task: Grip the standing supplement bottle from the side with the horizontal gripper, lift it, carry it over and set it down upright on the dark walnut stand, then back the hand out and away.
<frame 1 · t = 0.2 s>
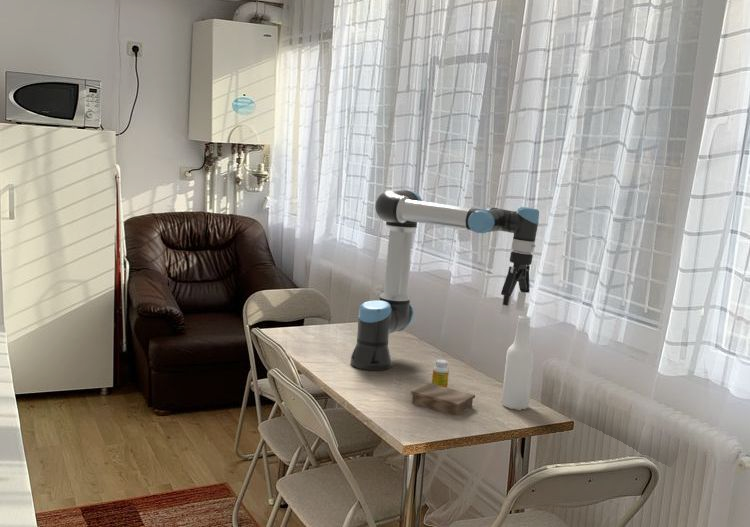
hand: (512, 312, 273), 27 cm above the table, tool pointing down, fingers open, 13 cm apart
supplement bottle: (439, 389, 270), on the table
alcohol: (514, 406, 258), on the table
stand: (442, 405, 253), on the table
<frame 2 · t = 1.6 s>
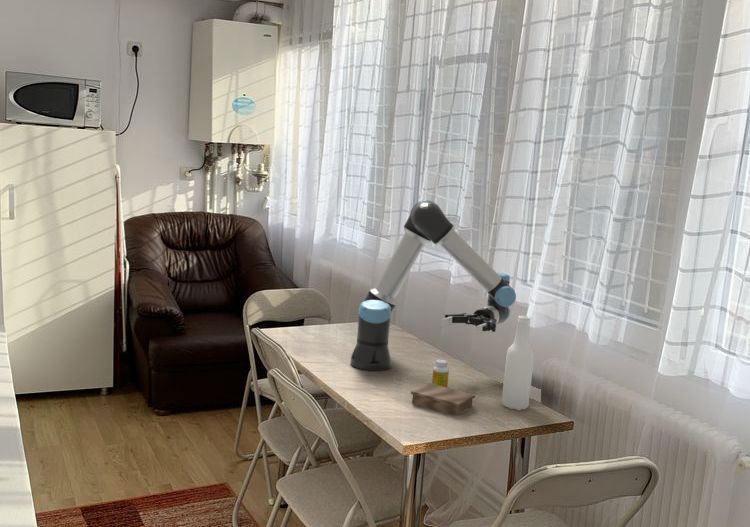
hand: (459, 326, 277), 20 cm above the table, tool horizontal, fingers open, 13 cm apart
nothing on the table moved.
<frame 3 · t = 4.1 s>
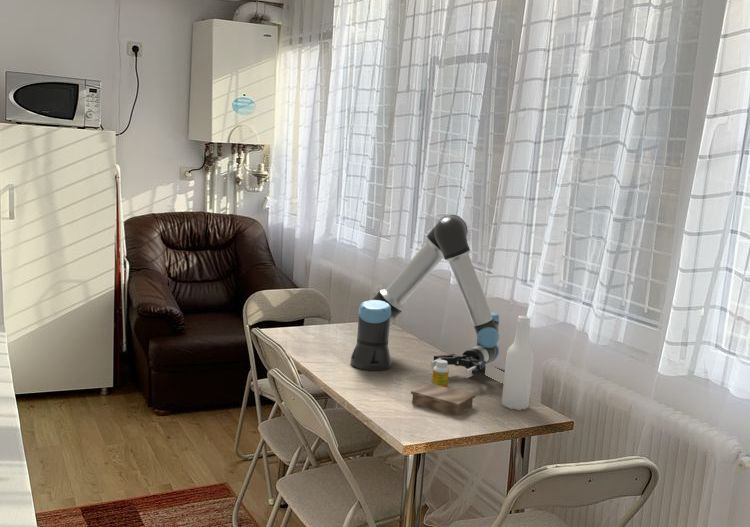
hand: (448, 369, 273), 6 cm above the table, tool horizontal, fingers open, 13 cm apart
nothing on the table moved.
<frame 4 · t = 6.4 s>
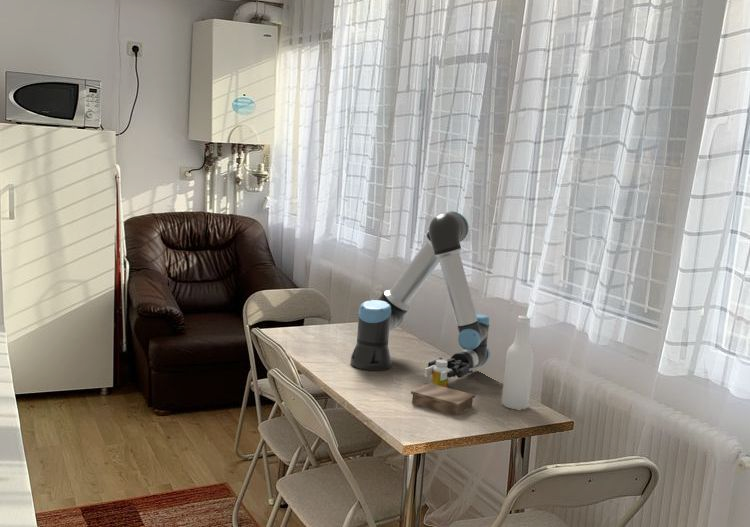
hand: (433, 374, 265), 6 cm above the table, tool horizontal, fingers closed on supplement bottle, 5 cm apart
supplement bottle: (439, 388, 270), on the table, touching gripper
everything else where it was.
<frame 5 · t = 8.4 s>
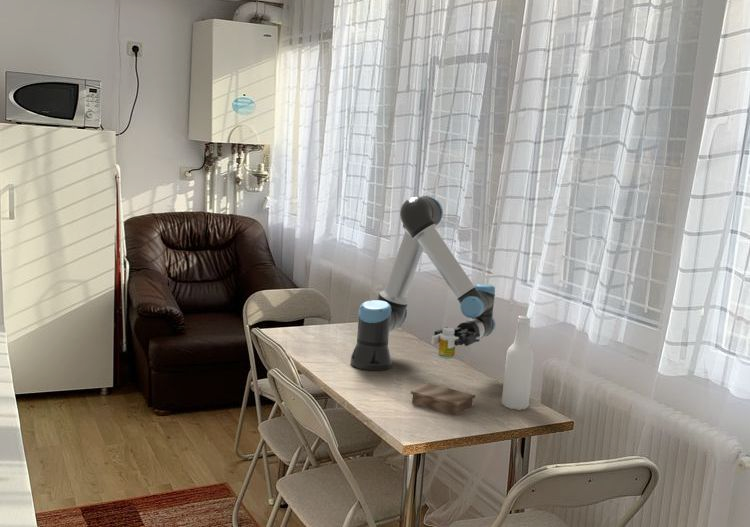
hand: (440, 342, 260), 18 cm above the table, tool horizontal, fingers closed on supplement bottle, 5 cm apart
supplement bottle: (446, 357, 265), point 12 cm above the table, touching gripper
everything else where it was.
when the fingers open (11 cm above the table, at t = 10.7 s): supplement bottle drops 1 cm, resting on stand.
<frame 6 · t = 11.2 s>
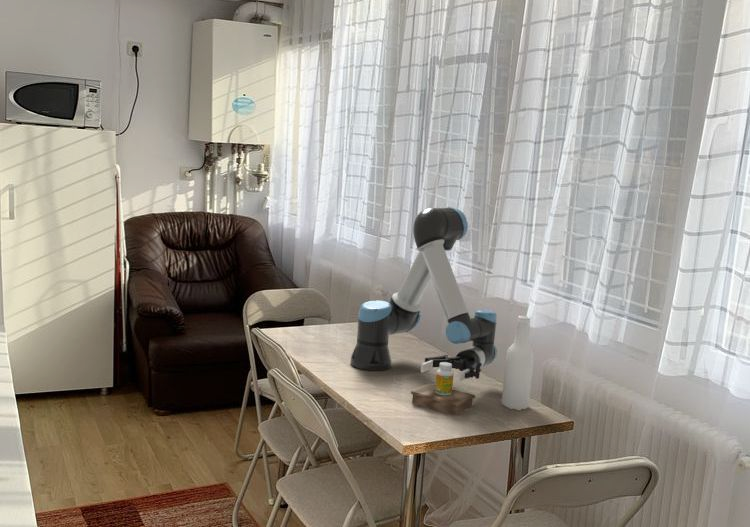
hand: (440, 372, 248), 11 cm above the table, tool horizontal, fingers open, 12 cm apart
supplement bottle: (443, 393, 252), point 4 cm above the table, touching stand
everything else where it was.
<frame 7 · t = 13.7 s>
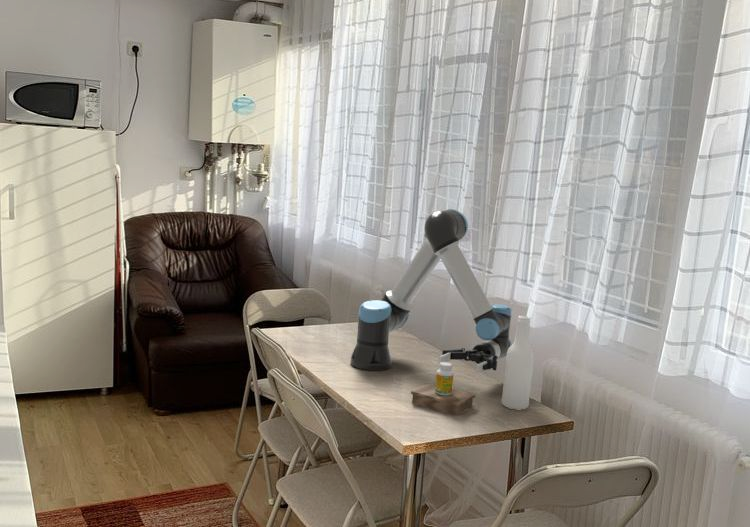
hand: (458, 364, 259), 12 cm above the table, tool horizontal, fingers open, 13 cm apart
nothing on the table moved.
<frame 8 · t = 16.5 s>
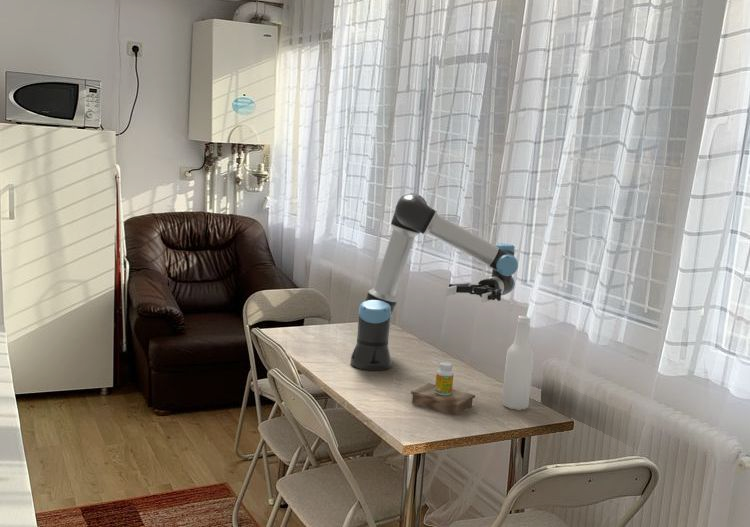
hand: (464, 295, 271), 32 cm above the table, tool horizontal, fingers open, 13 cm apart
nothing on the table moved.
at the end: supplement bottle inside the target area on the stand (0.1 cm from its centre), point 3.8 cm above the stand's base; supplement bottle tilted 0°; the gripper is holding nothing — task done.
